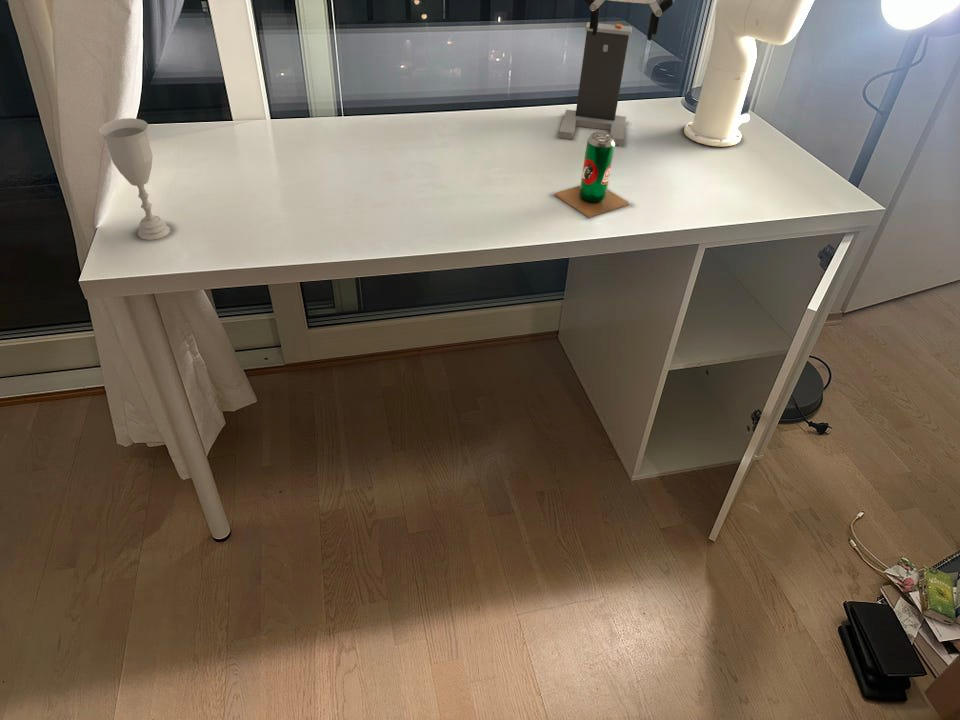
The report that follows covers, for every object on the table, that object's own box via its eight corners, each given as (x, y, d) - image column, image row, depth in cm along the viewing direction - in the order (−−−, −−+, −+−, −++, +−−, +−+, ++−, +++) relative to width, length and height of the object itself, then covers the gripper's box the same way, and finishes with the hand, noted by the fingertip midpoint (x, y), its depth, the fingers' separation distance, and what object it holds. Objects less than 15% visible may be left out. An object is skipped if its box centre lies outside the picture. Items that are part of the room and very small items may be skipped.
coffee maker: (565, 115, 166) (577, 17, 152) (625, 122, 164) (642, 24, 150) (558, 137, 156) (570, 35, 142) (621, 145, 154) (640, 43, 140)
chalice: (139, 221, 121) (107, 117, 109) (180, 221, 121) (153, 118, 110) (126, 243, 115) (92, 137, 104) (169, 243, 116) (140, 137, 104)
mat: (593, 183, 139) (594, 181, 139) (628, 205, 133) (629, 202, 133) (554, 195, 135) (554, 192, 134) (588, 217, 129) (589, 215, 128)
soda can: (604, 205, 131) (615, 143, 124) (577, 201, 132) (586, 140, 124) (606, 193, 135) (616, 132, 128) (580, 189, 136) (589, 129, 128)
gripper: (692, -77, 115) (670, 34, 127) (587, -84, 117) (575, 25, 129) (694, -68, 110) (671, 47, 121) (583, -76, 112) (571, 38, 123)
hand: (621, 35), depth 125 cm, fingers open, 9 cm apart
